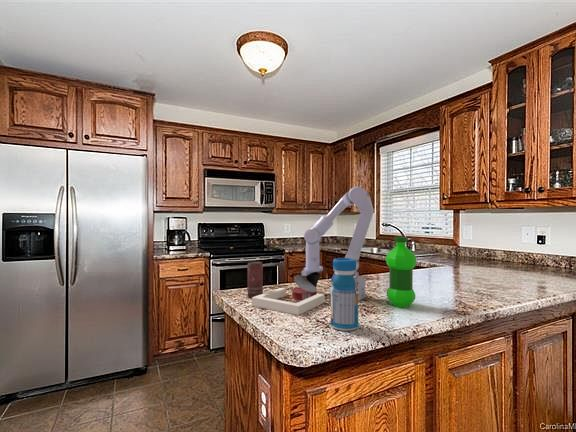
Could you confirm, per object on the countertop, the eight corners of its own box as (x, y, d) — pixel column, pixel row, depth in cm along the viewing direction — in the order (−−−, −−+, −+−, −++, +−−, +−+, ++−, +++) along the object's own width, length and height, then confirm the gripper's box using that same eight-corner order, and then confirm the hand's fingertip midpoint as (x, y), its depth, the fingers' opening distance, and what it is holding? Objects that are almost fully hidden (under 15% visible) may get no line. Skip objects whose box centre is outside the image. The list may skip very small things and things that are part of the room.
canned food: (306, 305, 133) (315, 282, 136) (316, 309, 124) (326, 285, 126) (283, 294, 131) (292, 271, 133) (291, 297, 121) (302, 273, 124)
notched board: (324, 302, 121) (324, 294, 121) (298, 315, 106) (298, 306, 106) (281, 294, 132) (281, 287, 132) (251, 305, 117) (251, 297, 117)
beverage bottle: (340, 333, 90) (340, 262, 90) (324, 324, 97) (324, 258, 97) (364, 329, 93) (365, 260, 93) (348, 320, 101) (348, 256, 101)
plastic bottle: (403, 311, 110) (404, 238, 110) (380, 304, 119) (380, 236, 119) (422, 306, 116) (422, 237, 115) (398, 300, 124) (398, 235, 124)
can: (260, 299, 126) (260, 263, 126) (245, 298, 127) (245, 262, 127) (265, 295, 132) (265, 261, 132) (250, 294, 133) (250, 260, 133)
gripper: (312, 255, 142) (312, 286, 142) (295, 259, 130) (295, 292, 130) (327, 256, 138) (327, 288, 138) (310, 260, 126) (310, 295, 126)
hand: (312, 290), depth 134 cm, fingers closed
